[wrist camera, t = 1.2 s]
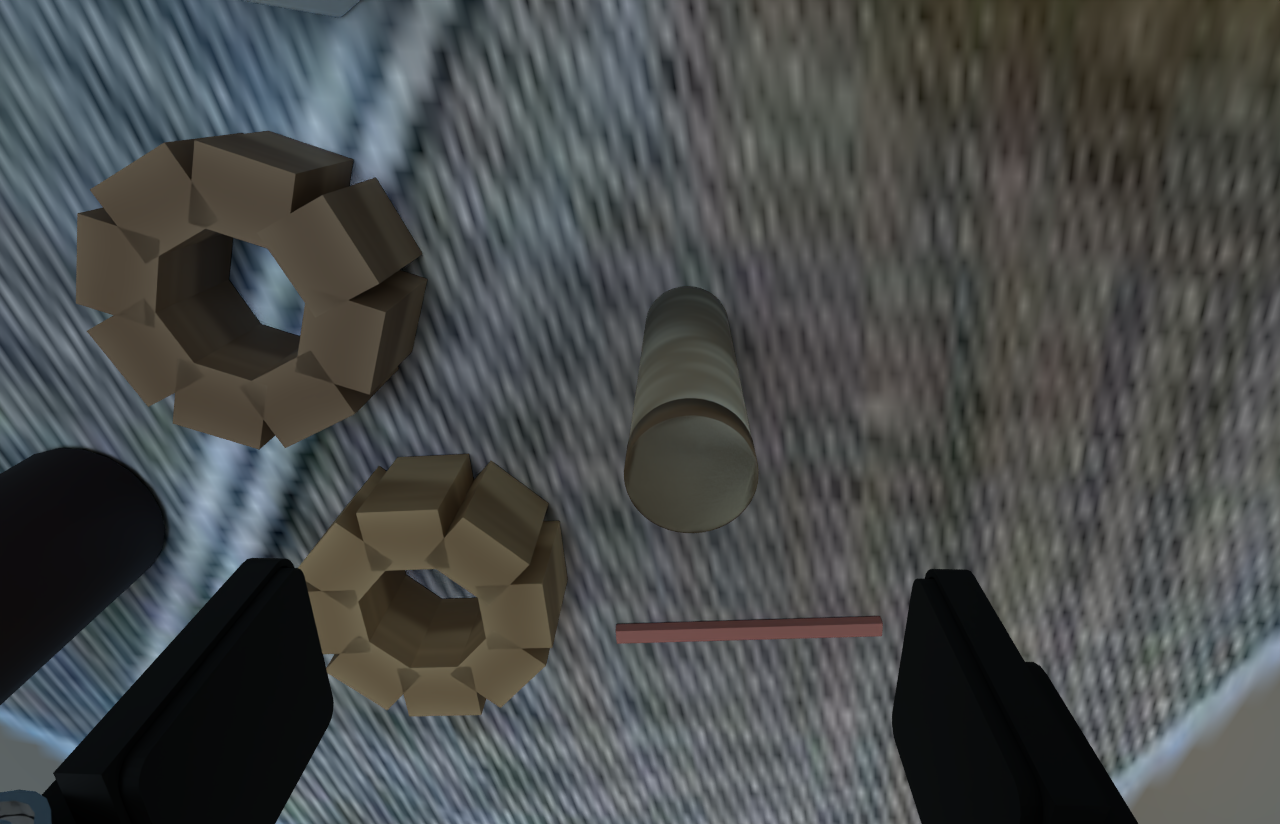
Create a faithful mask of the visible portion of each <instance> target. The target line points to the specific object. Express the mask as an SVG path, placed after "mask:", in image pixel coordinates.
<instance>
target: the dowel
mask: <svg viewBox="0 0 1280 824" xmlns="http://www.w3.org/2000/svg"><path fill="white" fill-rule="evenodd" d="M624 481H625V487H626V490H627V493H628V495H629V497H630V499H631V501H632V503H633V504H634V506H635V507H636V508H637V509H638V511H639V512H640V513H641V514H642V515H643V516H645V517H646V518H647V519H648V520H650V521H651V522H653V523H654V524H656V525H658V526H660V527H663V528H665V529H668V530H672V531H676V532H682V533H700V532H706V531H711V530H714V529H717V528H720V527H722V526H724V525H726V524H728V523H729V522H731V521H733V520H734V519H735V518H737V517H738V516H739V515H740V514H741V513H742V512H743V511H744V510H745V509H746V507H747V506H748V505H749V503H750V502H751V500H752V498H753V496H754V494H755V491H756V488H757V483H758V464H757V459H756V454H755V449H754V444H753V440H752V437H751V433H750V428H749V423H748V418H747V413H746V408H745V403H744V398H743V393H742V387H741V382H740V377H739V372H738V367H737V362H736V357H735V352H734V347H733V342H732V337H731V332H730V327H729V322H728V317H727V314H726V311H725V309H724V307H723V305H722V304H721V302H720V301H719V300H718V299H717V298H716V297H715V296H714V295H712V294H711V293H709V292H708V291H706V290H703V289H701V288H697V287H691V286H684V287H678V288H674V289H671V290H669V291H667V292H665V293H664V294H662V295H661V296H660V297H659V298H658V299H656V301H655V302H654V303H653V304H652V306H651V308H650V309H649V312H648V314H647V318H646V324H645V331H644V338H643V345H642V352H641V359H640V367H639V374H638V381H637V388H636V395H635V402H634V409H633V416H632V423H631V430H630V437H629V442H628V446H627V453H626V460H625V467H624Z"/></svg>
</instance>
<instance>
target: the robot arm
mask: <svg viewBox="0 0 1280 824" xmlns="http://www.w3.org/2000/svg"><path fill="white" fill-rule="evenodd" d="M333 703H334V702H333V696H332V691H331V687H330V683H329V679H328V674H327V670H326V666H325V662H324V657H323V653H322V649H321V644H320V640H319V636H318V632H317V627H316V623H315V619H314V614H313V610H312V606H311V602H310V597H309V593H308V589H307V585H306V580H305V576H304V574H303V572H302V570H301V569H299V568H294V566H293V564H292V562H291V561H290V560H288V559H281V558H250V559H247V560H246V561H245V562H243V563H242V564H241V566H240V567H239V568H238V569H237V570H236V571H235V572H234V573H233V574H232V576H231V577H230V578H229V579H228V580H227V581H226V582H225V583H224V584H223V586H222V587H221V588H220V589H219V590H218V591H217V592H216V593H215V594H214V595H213V597H212V598H211V599H210V600H209V601H208V602H207V603H206V604H205V605H204V607H203V608H202V609H201V610H200V611H199V612H198V613H197V614H196V615H195V617H194V618H193V619H192V620H191V621H190V622H189V623H188V624H187V625H186V627H185V628H184V629H183V630H182V631H181V632H180V633H179V634H178V635H177V636H176V638H175V639H174V640H173V641H172V642H171V643H170V644H169V645H168V646H167V648H166V649H165V650H164V651H163V652H162V653H161V654H160V655H159V656H158V658H157V659H156V660H155V661H154V662H153V663H152V664H151V665H150V666H149V668H148V669H147V670H146V671H145V672H144V673H143V674H142V675H141V676H140V677H139V679H138V680H137V681H136V682H135V683H134V684H133V685H132V686H131V687H130V689H129V690H128V691H127V692H126V693H125V694H124V695H123V696H122V697H121V699H120V700H119V701H118V702H117V703H116V704H115V705H114V706H113V707H112V709H111V710H110V711H109V712H108V713H107V714H106V715H105V716H104V717H103V718H102V720H101V721H100V722H99V723H98V724H97V725H96V726H95V727H94V728H93V730H92V731H91V732H90V733H89V734H88V735H87V736H86V737H85V738H84V740H83V741H82V742H81V743H80V744H79V745H78V746H77V747H76V748H75V750H74V751H73V752H72V753H71V754H70V755H69V756H68V757H67V758H66V759H65V761H64V762H63V763H62V764H61V765H60V766H59V767H58V768H57V769H56V771H55V772H54V773H53V774H54V776H55V778H56V780H55V781H54V782H53V783H52V784H51V786H50V787H49V788H48V789H47V790H46V791H45V792H44V793H43V794H42V795H40V794H39V793H37V792H35V791H26V790H14V791H7V792H0V824H275V823H276V821H277V819H278V817H279V816H280V814H281V812H282V810H283V808H284V806H285V804H286V803H287V801H288V799H289V797H290V795H291V793H292V792H293V790H294V788H295V786H296V784H297V782H298V781H299V779H300V777H301V775H302V773H303V771H304V770H305V768H306V766H307V764H308V762H309V760H310V759H311V757H312V755H313V753H314V751H315V749H316V747H317V746H318V744H319V742H320V740H321V738H322V736H323V735H324V733H325V731H326V729H327V727H328V725H329V723H330V721H331V717H332V713H333ZM892 727H893V734H894V739H895V742H896V746H897V749H898V752H899V755H900V758H901V761H902V764H903V767H904V770H905V773H906V777H907V780H908V783H909V786H910V789H911V792H912V795H913V798H914V801H915V804H916V808H917V811H918V814H919V817H920V820H921V823H922V824H1138V822H1137V821H1136V819H1135V817H1134V816H1133V814H1132V812H1131V811H1130V809H1129V808H1128V806H1127V804H1126V803H1125V801H1124V799H1123V798H1122V796H1121V795H1120V793H1119V791H1118V790H1117V788H1116V786H1115V785H1114V783H1113V782H1112V780H1111V778H1110V777H1109V775H1108V773H1107V772H1106V770H1105V768H1104V767H1103V765H1102V764H1101V762H1100V760H1099V759H1098V757H1097V755H1096V754H1095V752H1094V751H1093V749H1092V747H1091V746H1090V744H1089V742H1088V741H1087V739H1086V738H1085V736H1084V734H1083V733H1082V731H1081V729H1080V728H1079V726H1078V724H1077V723H1076V721H1075V720H1074V718H1073V716H1072V715H1071V713H1070V711H1069V710H1068V708H1067V707H1066V705H1065V703H1064V702H1063V700H1062V698H1061V697H1060V695H1059V693H1058V692H1057V690H1056V689H1055V687H1054V685H1053V684H1052V682H1051V680H1050V679H1049V677H1048V676H1047V674H1046V673H1045V672H1044V670H1043V669H1042V668H1041V666H1039V665H1038V664H1036V663H1034V662H1025V661H1024V660H1023V658H1022V656H1021V655H1020V653H1019V651H1018V649H1017V648H1016V646H1015V644H1014V643H1013V641H1012V639H1011V638H1010V636H1009V634H1008V632H1007V631H1006V629H1005V627H1004V626H1003V624H1002V622H1001V621H1000V619H999V617H998V615H997V614H996V612H995V610H994V609H993V607H992V605H991V604H990V602H989V600H988V598H987V597H986V595H985V593H984V592H983V590H982V588H981V587H980V585H979V583H978V582H977V580H976V578H975V576H974V575H973V574H972V572H971V571H969V570H952V569H930V570H928V571H927V573H926V575H925V579H915V581H914V582H913V586H912V592H911V598H910V604H909V611H908V617H907V623H906V630H905V636H904V642H903V649H902V655H901V661H900V668H899V674H898V680H897V687H896V693H895V699H894V706H893V712H892Z"/></svg>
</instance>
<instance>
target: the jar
mask: <svg viewBox="0 0 1280 824" xmlns="http://www.w3.org/2000/svg"><path fill="white" fill-rule="evenodd" d="M240 1H246V2H252V3H257V4H263V5H268V6H274V7H280V8H285V9H291V10H297V11H302V12H308V13H314V14H319V15H325V16H331V17H341V16H343V15H344V14H345V13H346V12H348V11H349V10H350V9H351V8H352V7H353V6H354V5H355V4H357V3H358V2H359V1H360V0H240Z"/></svg>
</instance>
